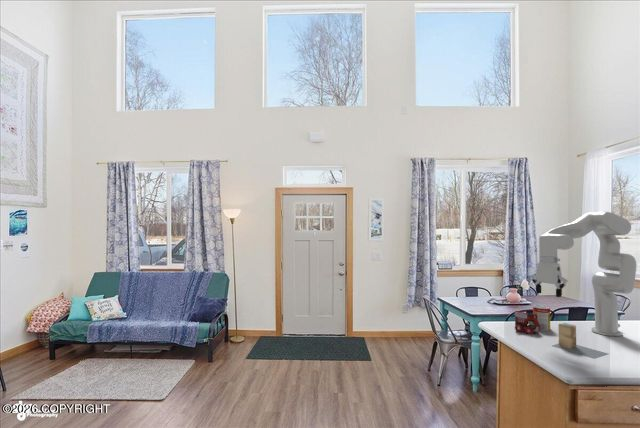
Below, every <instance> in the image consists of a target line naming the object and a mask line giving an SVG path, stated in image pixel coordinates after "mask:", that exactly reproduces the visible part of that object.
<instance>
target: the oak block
mask: <svg viewBox="0 0 640 428" xmlns="http://www.w3.org/2000/svg"><path fill="white" fill-rule="evenodd" d="M557 325H558V344H559V346H562V347H566V348H569V349H571V348H575V347H576V345H577V325H576V324H572V323H567V322H562V323H558V324H557Z"/></svg>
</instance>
